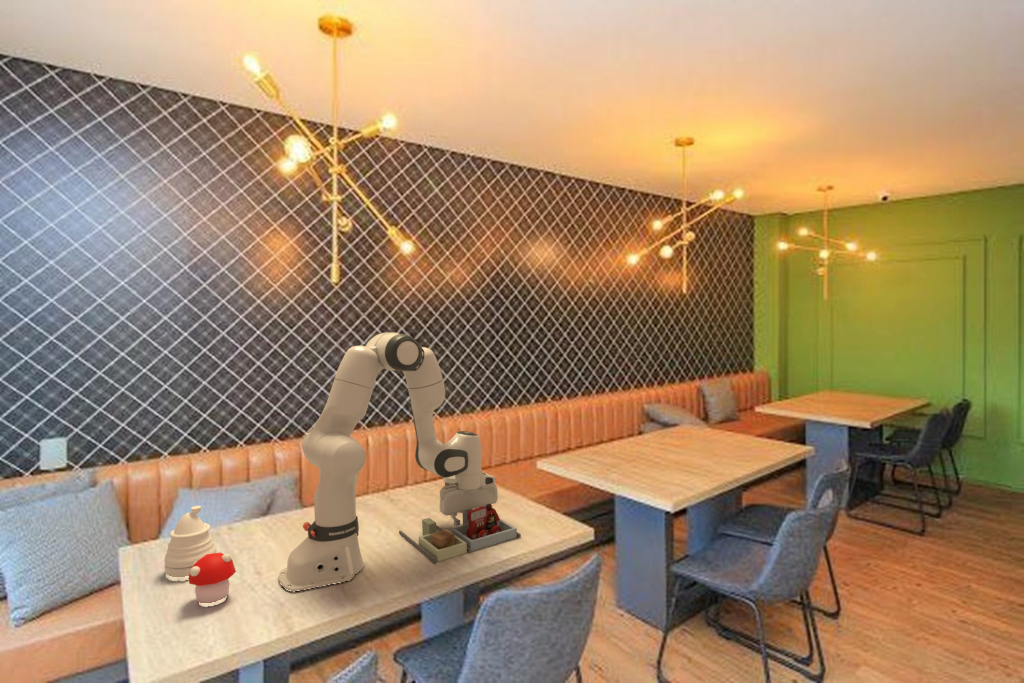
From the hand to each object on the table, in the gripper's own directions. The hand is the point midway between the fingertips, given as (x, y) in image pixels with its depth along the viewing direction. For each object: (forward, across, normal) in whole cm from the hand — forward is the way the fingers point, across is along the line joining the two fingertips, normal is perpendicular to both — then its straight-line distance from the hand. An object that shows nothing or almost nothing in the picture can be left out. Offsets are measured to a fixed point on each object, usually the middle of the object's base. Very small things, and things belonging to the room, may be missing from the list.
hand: (469, 521), depth 186 cm
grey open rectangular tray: (+2, 0, -6) cm, 7 cm away
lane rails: (+2, -6, -3) cm, 7 cm away
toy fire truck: (+3, 0, -9) cm, 10 cm away
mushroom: (+3, -75, 0) cm, 75 cm away
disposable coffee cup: (+2, +6, +20) cm, 21 cm away
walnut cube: (+2, -14, -9) cm, 17 cm away
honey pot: (+3, -78, +22) cm, 81 cm away
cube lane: (+2, -15, -6) cm, 16 cm away
